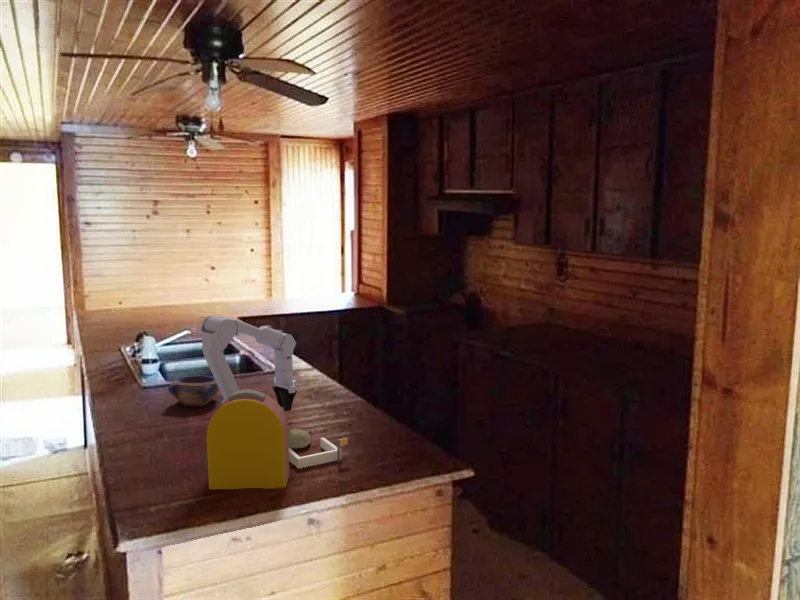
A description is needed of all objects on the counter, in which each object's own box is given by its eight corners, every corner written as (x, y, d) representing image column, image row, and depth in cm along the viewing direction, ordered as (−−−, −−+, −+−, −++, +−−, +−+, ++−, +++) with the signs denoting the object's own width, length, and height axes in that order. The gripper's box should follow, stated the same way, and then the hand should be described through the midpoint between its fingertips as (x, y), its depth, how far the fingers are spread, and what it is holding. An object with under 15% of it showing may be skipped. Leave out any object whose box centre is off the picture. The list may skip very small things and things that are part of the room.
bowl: (227, 396, 270) (226, 372, 268) (210, 410, 252) (209, 384, 251) (184, 395, 272) (183, 371, 270) (164, 409, 254) (163, 383, 252)
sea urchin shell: (283, 447, 210) (281, 423, 215) (282, 457, 217) (280, 434, 221) (313, 443, 213) (309, 421, 217) (310, 454, 219) (308, 432, 223)
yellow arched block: (289, 474, 194) (287, 385, 190) (285, 488, 185) (282, 395, 181) (216, 475, 193) (212, 386, 189) (208, 489, 184) (203, 396, 180)
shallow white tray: (300, 471, 196) (300, 448, 195) (282, 454, 209) (281, 433, 208) (348, 460, 204) (348, 438, 203) (328, 445, 216) (327, 424, 215)
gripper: (303, 372, 218) (304, 412, 220) (287, 362, 230) (288, 401, 232) (282, 375, 214) (284, 416, 216) (267, 365, 226) (268, 404, 228)
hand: (284, 408), depth 224 cm, fingers open, 4 cm apart
